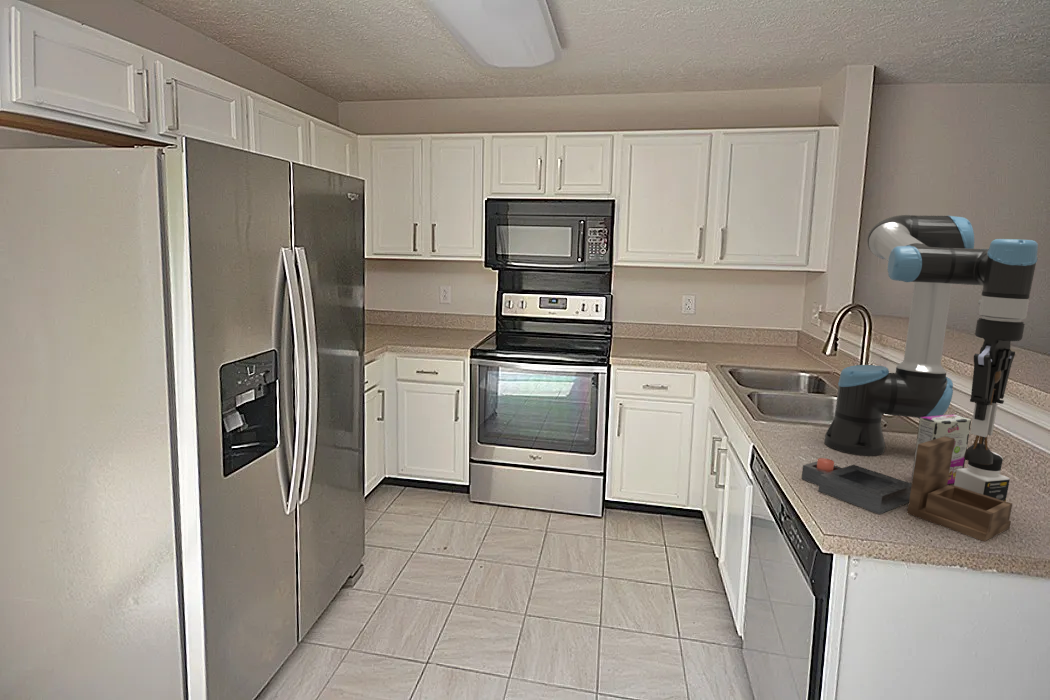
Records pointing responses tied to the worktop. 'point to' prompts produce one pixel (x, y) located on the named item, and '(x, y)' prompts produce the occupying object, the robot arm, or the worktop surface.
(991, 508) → the walnut rack
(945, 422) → the candy bar box
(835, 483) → the socket block
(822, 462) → the release plunger
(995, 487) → the medicine bottle
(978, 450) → the wooden tabletop sculpture
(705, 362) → the worktop surface
